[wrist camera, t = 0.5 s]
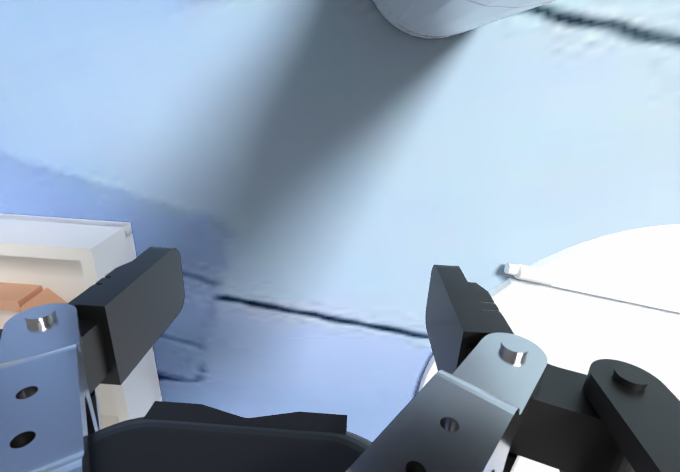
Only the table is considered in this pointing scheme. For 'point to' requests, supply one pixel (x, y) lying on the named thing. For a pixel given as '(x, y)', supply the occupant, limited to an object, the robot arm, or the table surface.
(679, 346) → the white round slatted board
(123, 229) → the walled box
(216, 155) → the table surface
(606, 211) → the table surface
